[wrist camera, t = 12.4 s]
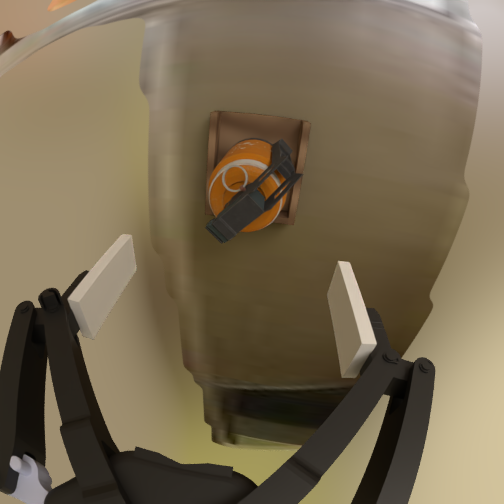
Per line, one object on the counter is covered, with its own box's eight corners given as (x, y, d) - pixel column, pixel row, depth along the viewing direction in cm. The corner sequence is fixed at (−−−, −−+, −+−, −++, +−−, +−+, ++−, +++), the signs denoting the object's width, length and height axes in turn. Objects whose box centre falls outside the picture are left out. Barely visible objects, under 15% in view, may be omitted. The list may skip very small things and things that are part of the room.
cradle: (216, 111, 39) (210, 112, 35) (307, 121, 39) (310, 123, 35) (210, 204, 47) (205, 214, 44) (292, 214, 47) (293, 224, 44)
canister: (213, 163, 42) (172, 213, 25) (267, 116, 38) (262, 131, 21) (252, 202, 45) (237, 275, 28) (305, 160, 41) (329, 210, 24)
